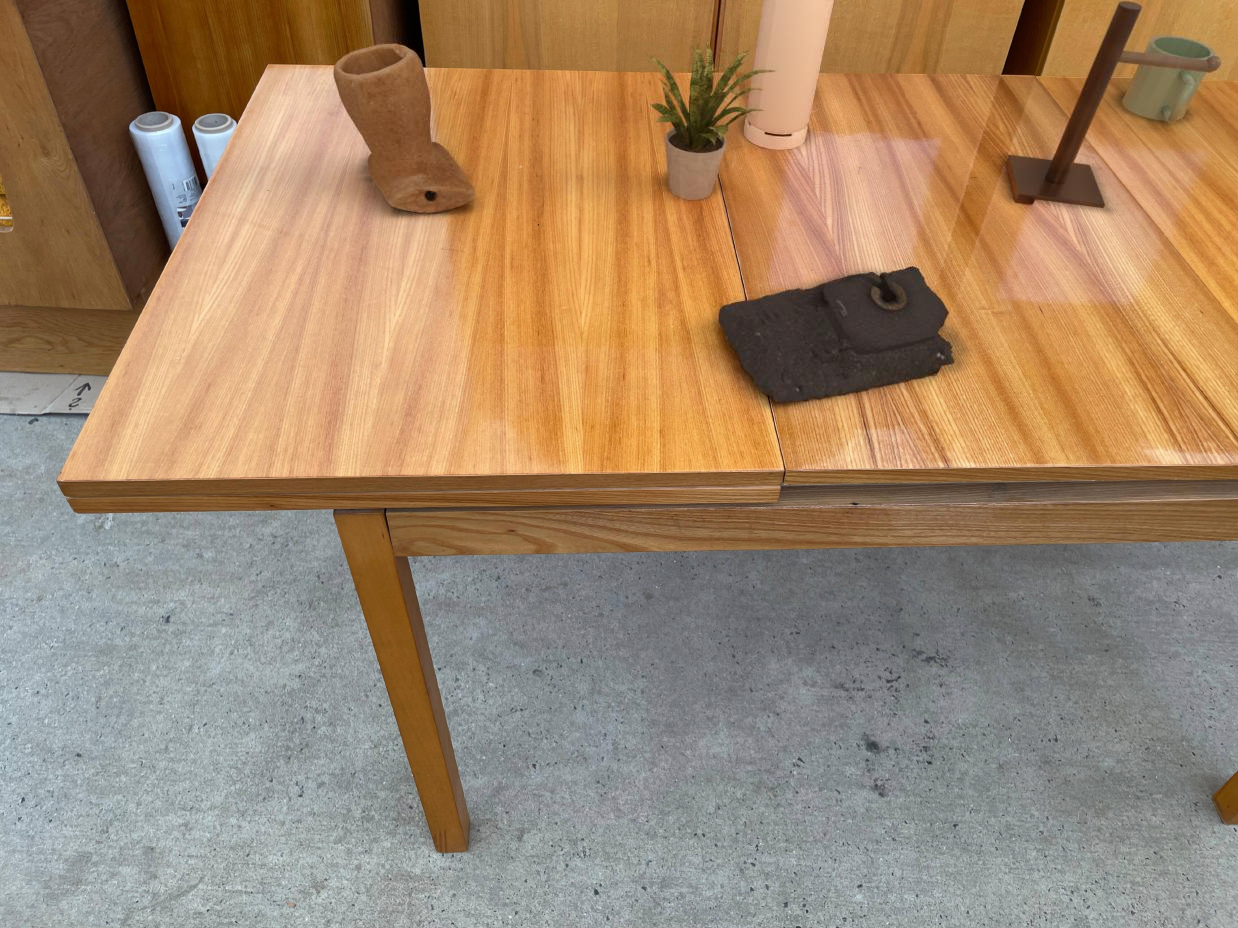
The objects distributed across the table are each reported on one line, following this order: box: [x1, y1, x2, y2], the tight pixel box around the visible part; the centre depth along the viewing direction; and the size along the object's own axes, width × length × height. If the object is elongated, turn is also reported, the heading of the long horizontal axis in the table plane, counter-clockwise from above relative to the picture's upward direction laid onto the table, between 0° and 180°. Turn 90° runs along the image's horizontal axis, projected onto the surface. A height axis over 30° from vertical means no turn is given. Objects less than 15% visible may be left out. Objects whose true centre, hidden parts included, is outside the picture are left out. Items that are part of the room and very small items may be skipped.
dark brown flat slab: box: [717, 266, 956, 403], centre depth 85 cm, size 15×22×5 cm
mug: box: [1121, 35, 1216, 126], centre depth 121 cm, size 12×8×9 cm
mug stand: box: [1005, 0, 1222, 209], centre depth 102 cm, size 17×10×21 cm, turn 80°
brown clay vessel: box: [332, 43, 477, 214], centre depth 97 cm, size 15×12×15 cm
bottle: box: [743, 0, 835, 151], centre depth 106 cm, size 8×8×28 cm
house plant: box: [646, 39, 779, 201], centre depth 99 cm, size 14×14×16 cm
